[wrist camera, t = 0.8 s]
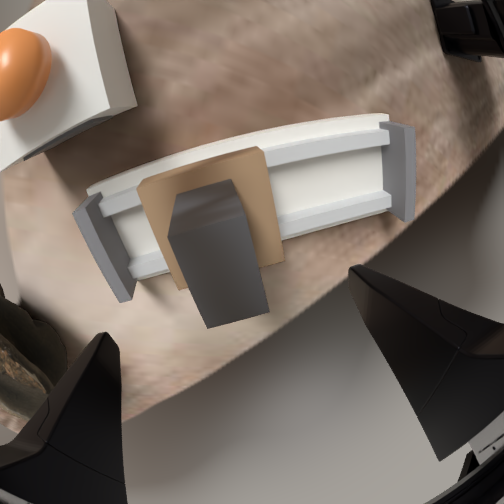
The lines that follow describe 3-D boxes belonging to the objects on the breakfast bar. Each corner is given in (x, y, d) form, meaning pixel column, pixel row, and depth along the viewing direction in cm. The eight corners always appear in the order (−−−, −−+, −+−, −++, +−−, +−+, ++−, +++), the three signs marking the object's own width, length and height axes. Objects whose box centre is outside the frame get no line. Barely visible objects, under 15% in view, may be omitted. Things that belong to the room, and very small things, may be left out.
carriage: (256, 145, 16) (293, 175, 10) (277, 245, 19) (312, 314, 13) (142, 178, 15) (110, 229, 9) (179, 272, 19) (176, 350, 13)
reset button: (46, 16, 6) (30, 9, 4) (59, 90, 8) (41, 90, 7) (-17, 64, 6) (-35, 65, 4) (-4, 134, 8) (-23, 141, 7)
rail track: (379, 113, 18) (414, 119, 14) (384, 204, 22) (413, 225, 19) (91, 184, 17) (68, 205, 13) (132, 274, 21) (123, 308, 18)
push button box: (114, 8, 11) (84, -21, 6) (138, 108, 15) (111, 111, 10) (21, 61, 11) (-28, 59, 5) (44, 153, 15) (-3, 177, 10)
